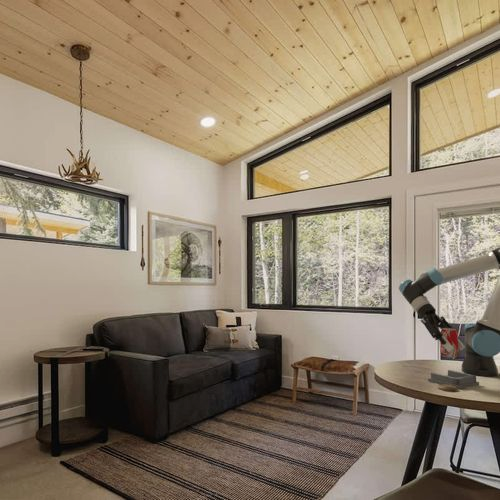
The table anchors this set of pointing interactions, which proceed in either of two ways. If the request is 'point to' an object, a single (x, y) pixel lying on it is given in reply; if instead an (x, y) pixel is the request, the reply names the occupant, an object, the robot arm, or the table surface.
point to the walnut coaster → (447, 387)
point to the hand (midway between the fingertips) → (456, 349)
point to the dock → (454, 379)
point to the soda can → (452, 339)
